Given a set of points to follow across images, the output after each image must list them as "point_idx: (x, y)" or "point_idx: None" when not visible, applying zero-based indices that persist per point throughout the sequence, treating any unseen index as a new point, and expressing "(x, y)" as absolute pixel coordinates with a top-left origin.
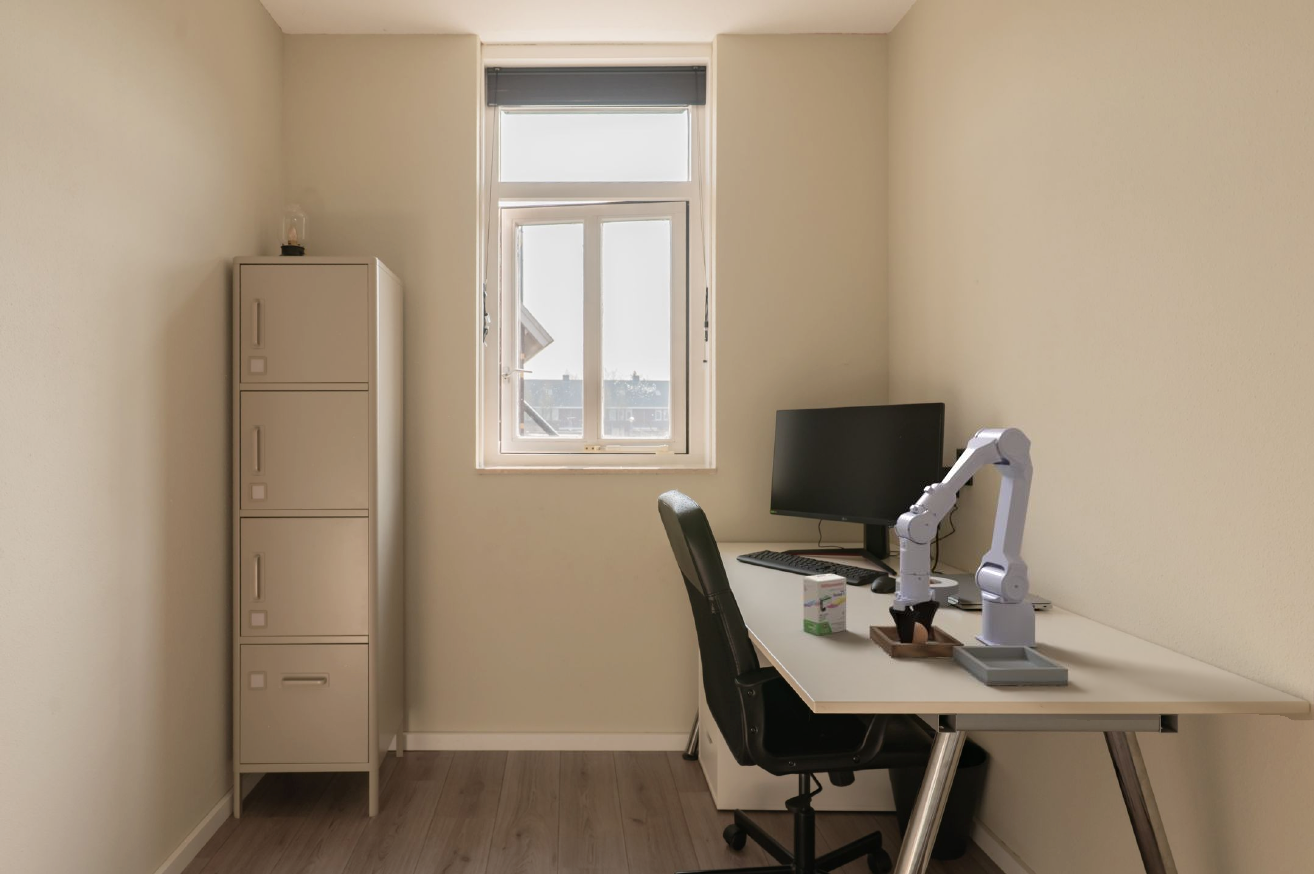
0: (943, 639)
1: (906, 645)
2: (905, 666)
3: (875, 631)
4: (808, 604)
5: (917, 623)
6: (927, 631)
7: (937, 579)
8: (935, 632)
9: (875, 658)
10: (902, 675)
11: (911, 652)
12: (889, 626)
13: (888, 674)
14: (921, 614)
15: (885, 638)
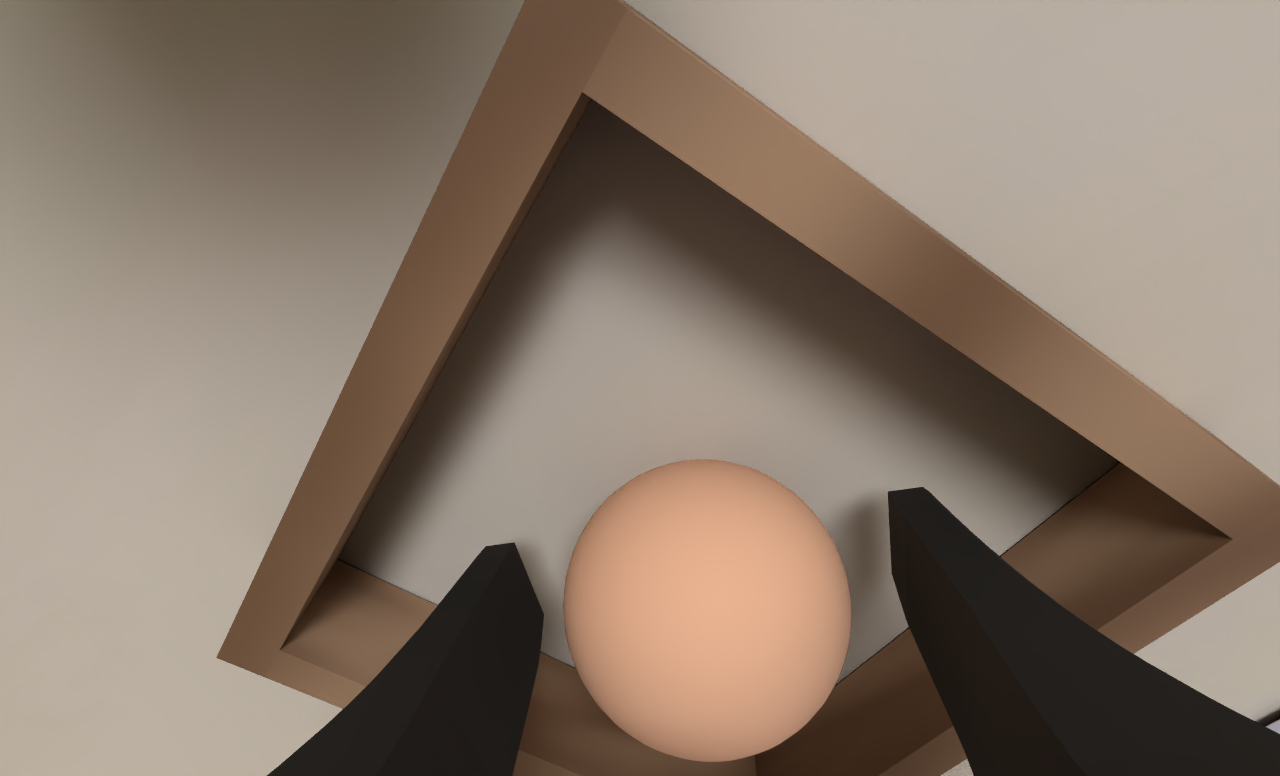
0: None
1: None
2: (257, 694)
3: (406, 253)
4: None
5: (713, 751)
6: (916, 627)
7: None
8: (1128, 556)
9: (144, 511)
10: (133, 752)
11: None
12: (810, 200)
13: (55, 713)
14: (1008, 762)
15: (298, 522)
